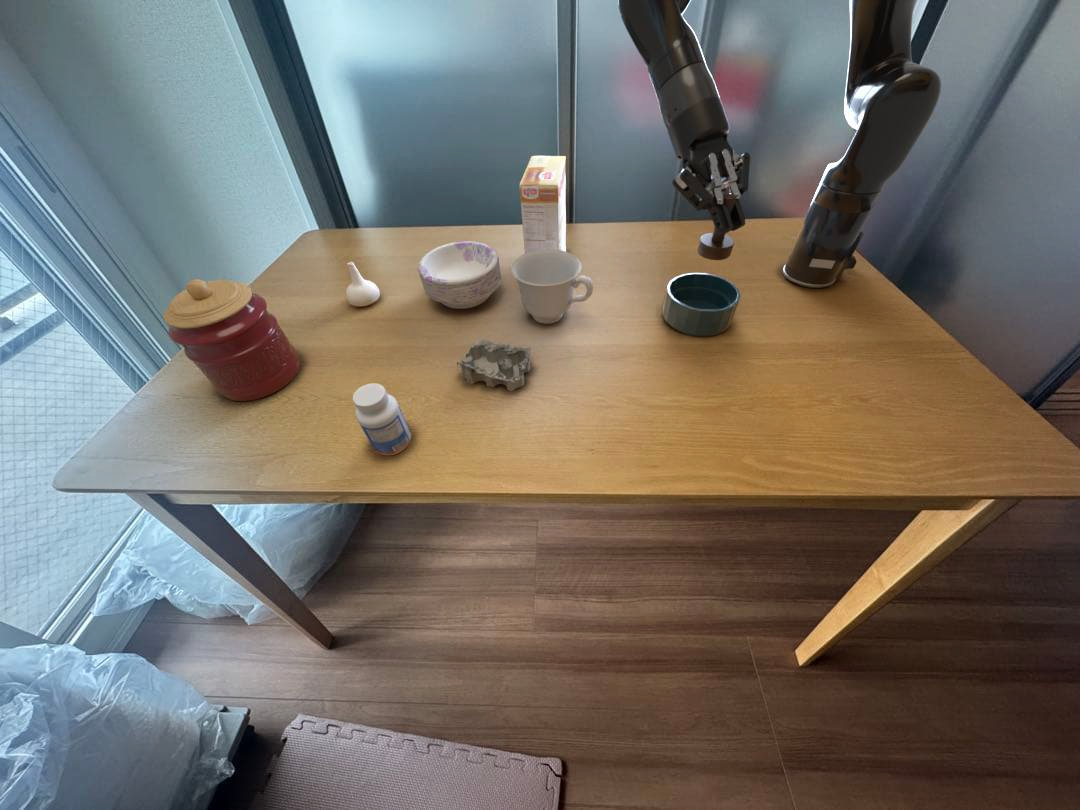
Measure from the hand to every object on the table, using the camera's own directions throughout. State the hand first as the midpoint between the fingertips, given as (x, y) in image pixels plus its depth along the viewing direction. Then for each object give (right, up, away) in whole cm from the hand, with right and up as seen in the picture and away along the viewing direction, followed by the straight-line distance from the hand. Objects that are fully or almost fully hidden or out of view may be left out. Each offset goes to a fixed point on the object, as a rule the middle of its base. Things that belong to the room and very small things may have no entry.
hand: (732, 229), depth 61 cm
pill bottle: (-49, -31, -2) cm, 58 cm away
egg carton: (-35, -21, +7) cm, 41 cm away
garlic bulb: (-63, -5, +23) cm, 68 cm away
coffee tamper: (-1, -2, +5) cm, 5 cm away
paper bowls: (-43, -4, +23) cm, 49 cm away
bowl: (0, -10, +15) cm, 18 cm away
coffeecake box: (-27, +4, +29) cm, 39 cm away
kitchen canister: (-75, -21, +9) cm, 78 cm away
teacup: (-26, -9, +17) cm, 32 cm away
